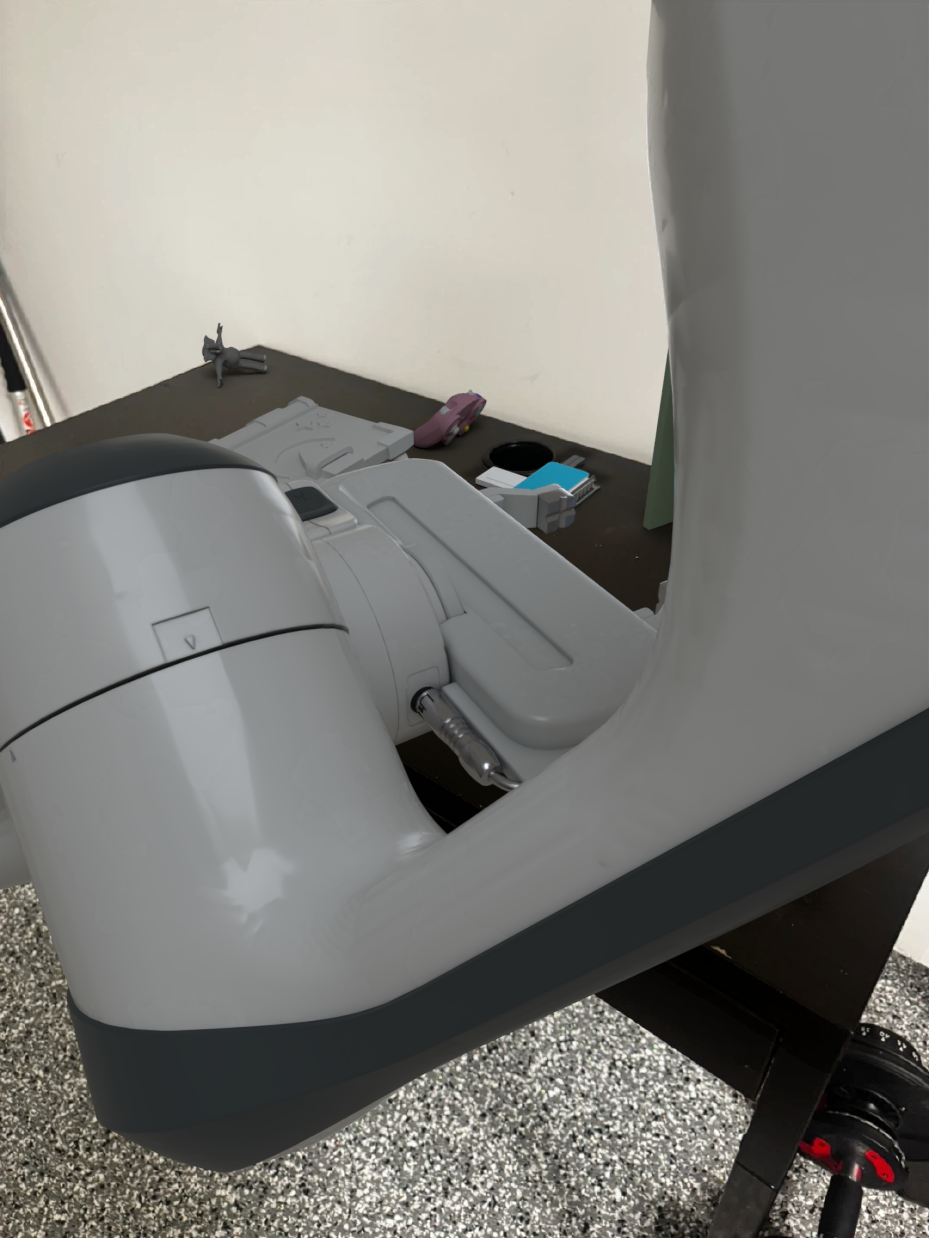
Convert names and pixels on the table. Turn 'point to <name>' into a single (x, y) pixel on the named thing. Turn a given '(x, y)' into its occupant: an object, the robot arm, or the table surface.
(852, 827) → the robot arm
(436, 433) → the video game controller
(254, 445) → the book
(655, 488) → the cupboard
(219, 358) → the grey sculpted figure
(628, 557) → the table surface
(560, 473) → the blue and white device
